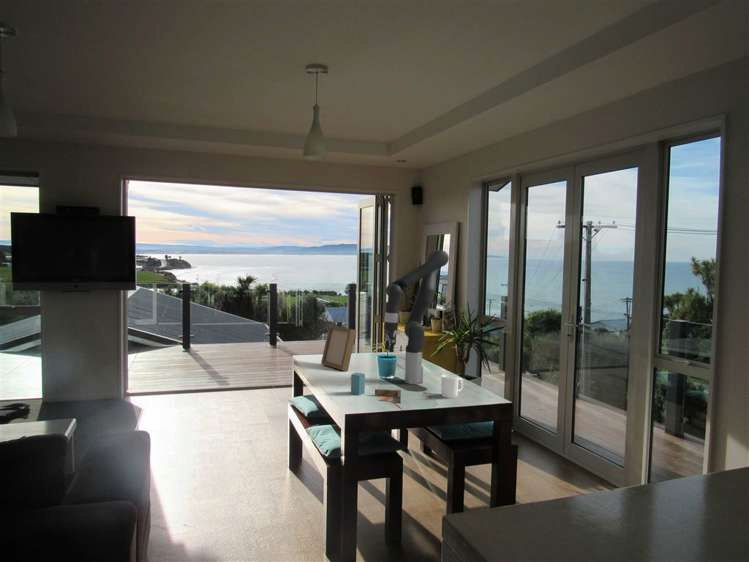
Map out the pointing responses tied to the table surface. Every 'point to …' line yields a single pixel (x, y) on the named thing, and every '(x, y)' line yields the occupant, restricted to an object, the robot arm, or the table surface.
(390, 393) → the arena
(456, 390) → the cup
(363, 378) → the teal block
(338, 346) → the photo frame
